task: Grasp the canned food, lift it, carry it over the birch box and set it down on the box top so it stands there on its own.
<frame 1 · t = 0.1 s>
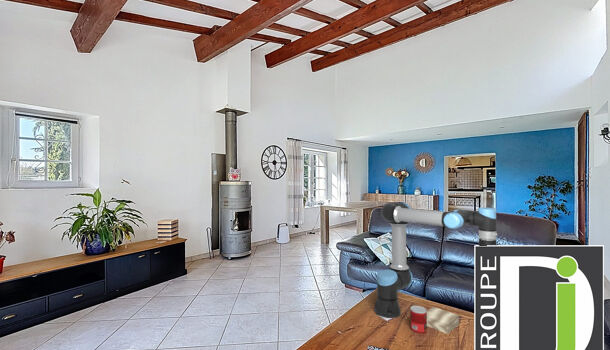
hand: (488, 281, 140), 28 cm above the table, fingers open, 13 cm apart
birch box: (440, 324, 154), on the table
canned food: (418, 330, 149), on the table
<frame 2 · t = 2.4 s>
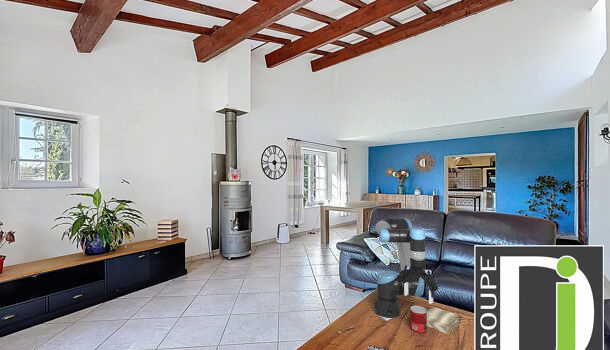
hand: (418, 298, 149), 16 cm above the table, fingers open, 13 cm apart
nothing on the table moved.
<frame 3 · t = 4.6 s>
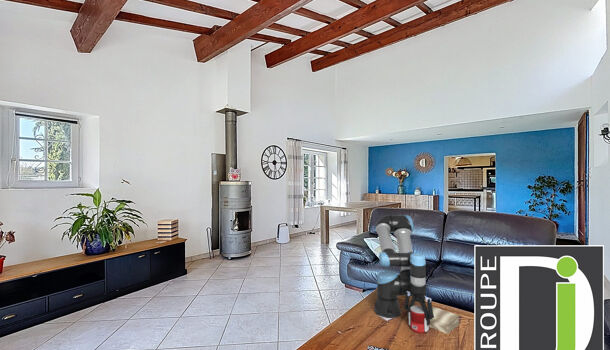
hand: (418, 327, 149), 1 cm above the table, fingers closed on canned food, 8 cm apart
canned food: (418, 330, 149), on the table, touching gripper
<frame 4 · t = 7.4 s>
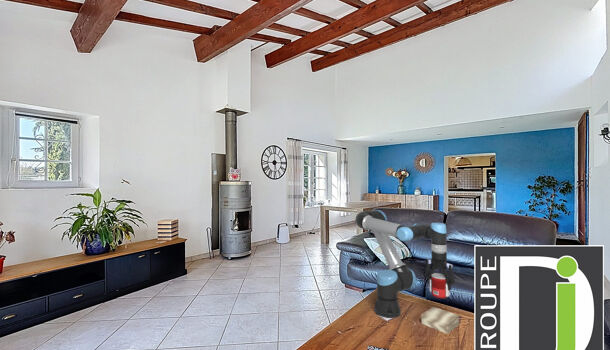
hand: (439, 293, 154), 17 cm above the table, fingers closed on canned food, 8 cm apart
canned food: (439, 296, 154), point 15 cm above the table, touching gripper
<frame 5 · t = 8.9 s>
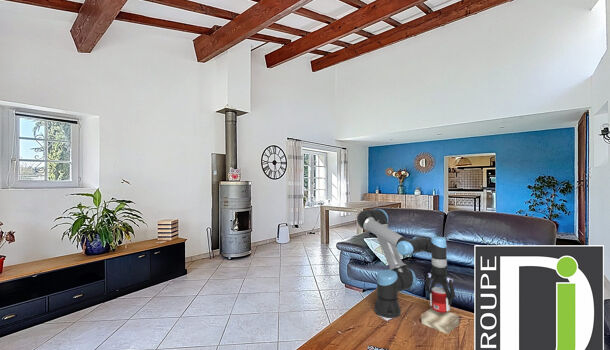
hand: (439, 307, 154), 9 cm above the table, fingers closed on canned food, 8 cm apart
canned food: (439, 310, 154), point 8 cm above the table, touching gripper
when the fingers open (7 cm above the table, at t = 10.3 s): canned food stays where it is, resting on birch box.
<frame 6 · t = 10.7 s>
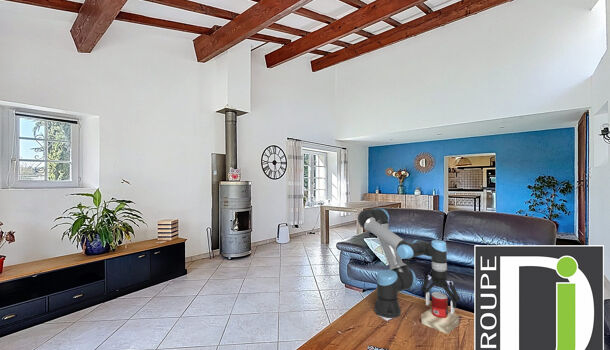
hand: (439, 308, 154), 8 cm above the table, fingers open, 13 cm apart
canned food: (439, 315, 154), point 5 cm above the table, touching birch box
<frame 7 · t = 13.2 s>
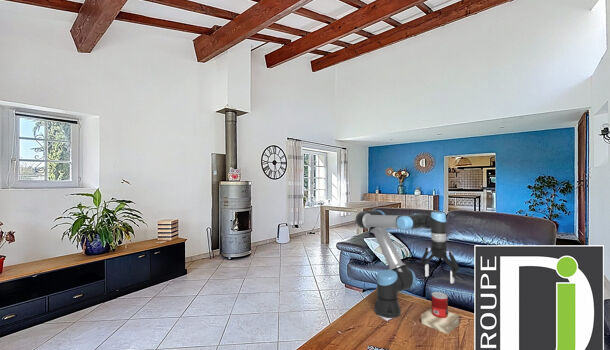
hand: (439, 279, 154), 24 cm above the table, fingers open, 13 cm apart
nothing on the table moved.
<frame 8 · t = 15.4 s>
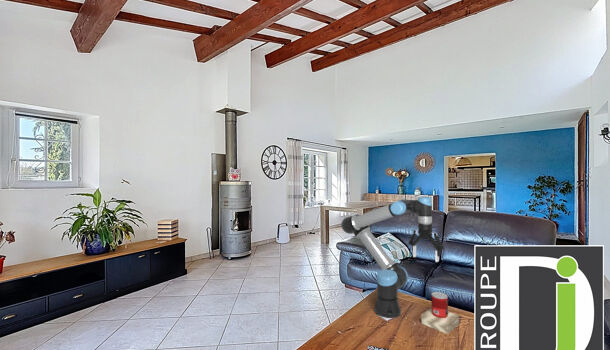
hand: (425, 259, 167), 32 cm above the table, fingers open, 13 cm apart
nothing on the table moved.
at the end: canned food inside the target area on the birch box (0.1 cm from its centre), point 4.8 cm above the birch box's base; canned food tilted 0°; the gripper is holding nothing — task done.
